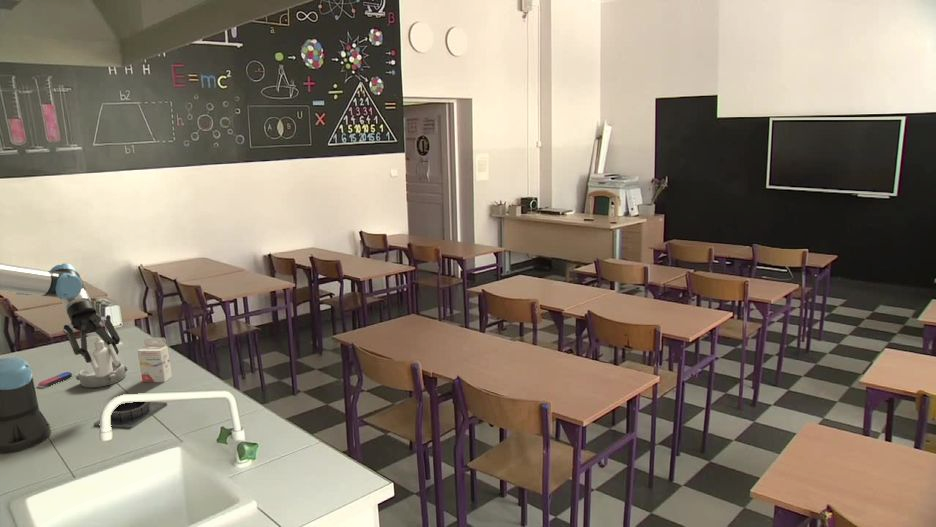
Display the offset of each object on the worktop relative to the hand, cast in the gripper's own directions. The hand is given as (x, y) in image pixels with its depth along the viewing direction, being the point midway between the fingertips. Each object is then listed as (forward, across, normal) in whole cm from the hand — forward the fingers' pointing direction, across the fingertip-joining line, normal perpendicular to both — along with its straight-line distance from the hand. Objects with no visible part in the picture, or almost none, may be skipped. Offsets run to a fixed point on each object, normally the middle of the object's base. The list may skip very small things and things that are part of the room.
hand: (107, 366), depth 201 cm
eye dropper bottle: (0, 0, -5) cm, 5 cm away
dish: (-11, -8, -33) cm, 36 cm away
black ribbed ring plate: (+15, -2, -6) cm, 16 cm away
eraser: (-21, +3, -44) cm, 49 cm away
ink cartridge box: (-1, -20, -22) cm, 30 cm away
